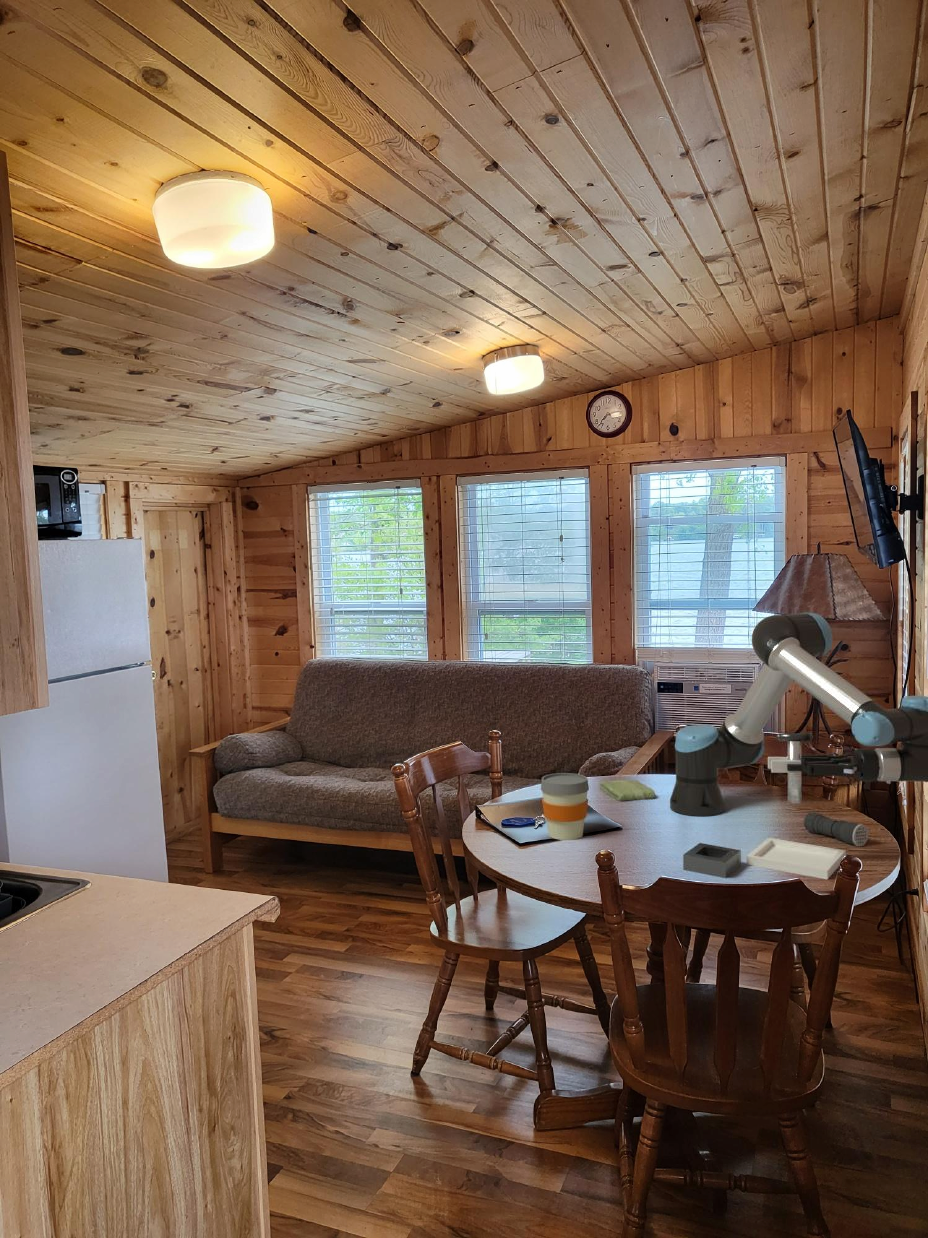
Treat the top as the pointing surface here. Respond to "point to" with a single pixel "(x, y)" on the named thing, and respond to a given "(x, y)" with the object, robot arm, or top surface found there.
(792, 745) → the chuck key
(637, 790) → the washcloth
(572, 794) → the reusable coffee cup
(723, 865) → the chuck socket block
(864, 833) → the flashlight
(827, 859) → the tray
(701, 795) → the robot arm
